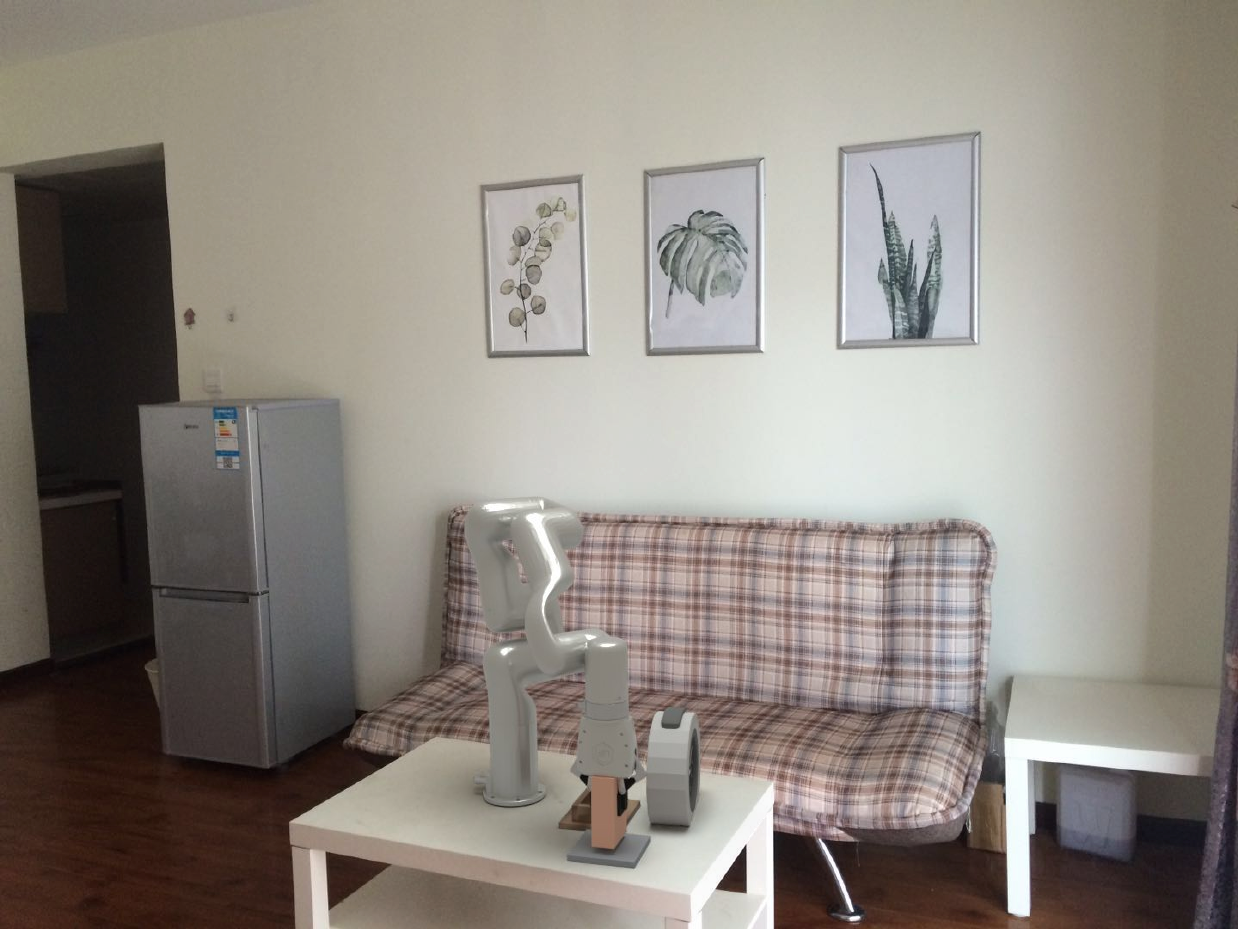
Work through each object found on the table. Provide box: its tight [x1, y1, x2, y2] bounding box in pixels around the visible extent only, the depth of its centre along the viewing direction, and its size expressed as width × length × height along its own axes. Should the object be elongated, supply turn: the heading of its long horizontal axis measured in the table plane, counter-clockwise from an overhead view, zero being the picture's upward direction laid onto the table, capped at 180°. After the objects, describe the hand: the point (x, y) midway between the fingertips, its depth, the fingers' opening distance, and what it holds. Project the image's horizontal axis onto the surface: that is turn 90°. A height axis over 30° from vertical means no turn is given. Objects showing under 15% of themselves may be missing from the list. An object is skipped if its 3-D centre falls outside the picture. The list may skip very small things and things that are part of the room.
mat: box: [566, 829, 652, 869], centre depth 174 cm, size 12×11×1 cm
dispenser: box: [558, 787, 641, 832], centre depth 189 cm, size 12×14×5 cm
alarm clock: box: [645, 706, 701, 827], centre depth 191 cm, size 21×8×20 cm, turn 168°
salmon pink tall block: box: [591, 776, 628, 849], centre depth 174 cm, size 4×8×12 cm, turn 164°
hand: (608, 811), depth 174 cm, fingers closed on salmon pink tall block, 3 cm apart
